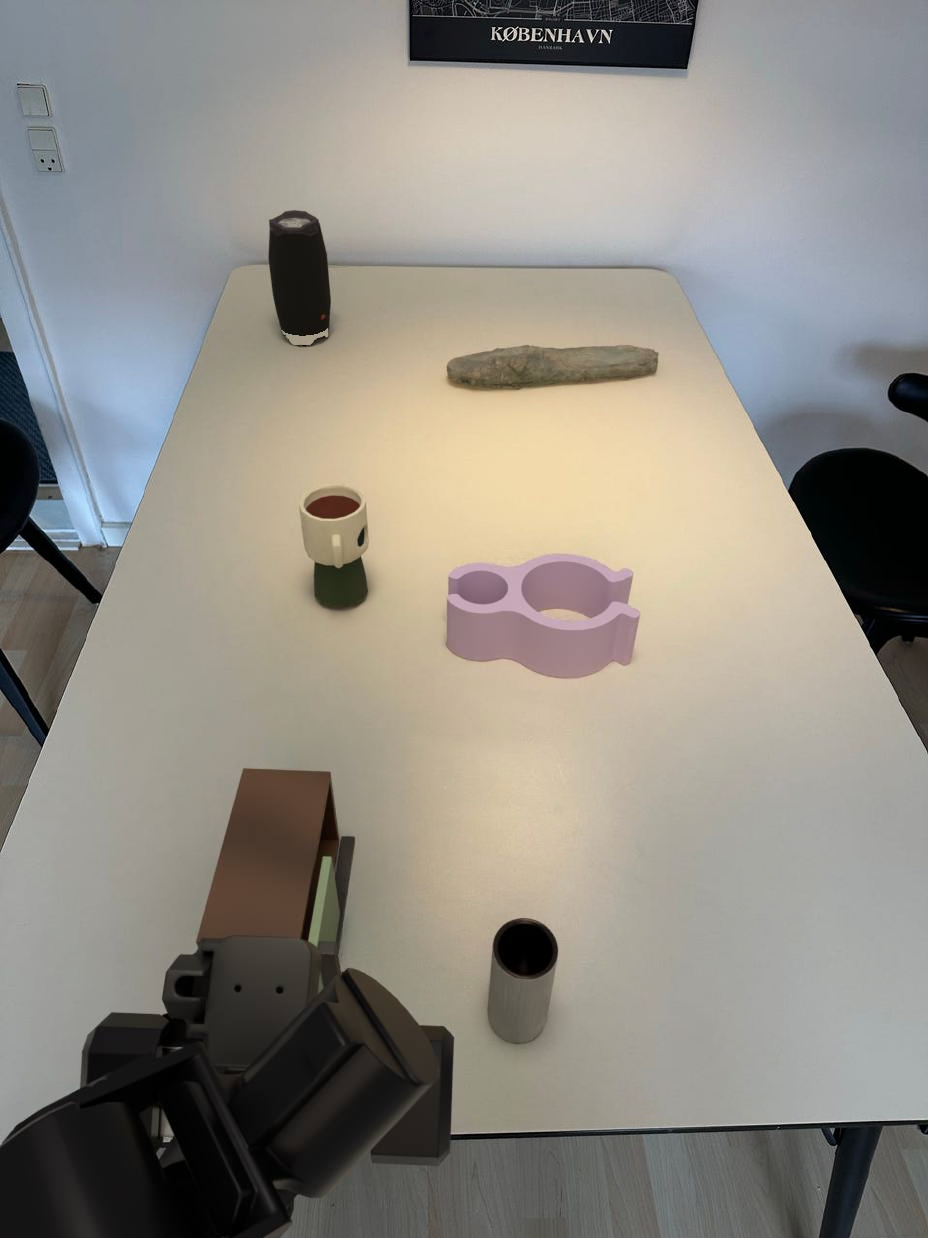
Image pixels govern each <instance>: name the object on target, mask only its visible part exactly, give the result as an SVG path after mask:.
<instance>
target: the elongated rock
mask: <svg viewBox="0 0 928 1238" xmlns="http://www.w3.org/2000/svg"><path fill="white" fill-rule="evenodd" d="M659 355H660V354H659V352H658V351H655V349H651V348H646V347H641V346H634V345H630V344H619V345H617V344H616V345H609V346H608V345H607V346H605V345H601V346H598V345H596V346H594V345H593V346H578V347H564V348H556V347H542V346H538V345H537V346H535V345H529V344H525V345H519V346H512V347H501V348H499V347H497V348H494V349H492V350H487V351H480V352H475V353H471V354H465V355H462V356H457V357H454V358H452V359H450V360H449V361H448V362H447V364H446V373H447V377H448V378H449V379H450V380H451V381H453V382H455V383H458V385H460V386H464V385H465V386H472V387H474V386H475V387H482V388H490V389H494V388H505V387H510V388H512V389H514V390H519V389H520V388H528V387H529V388H530V386H533V385H547V384H556V383H560V382H562V381H564V380H570V381H577V380H579V381H580V382H585V381H587V380H593V379H621V378H622V379H629V378H632V377H636V376H644V375H648V374H651V373H654V372H655V371H657V368H658V364H659Z"/></svg>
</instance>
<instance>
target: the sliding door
mask: <svg viewBox="0 0 928 1238" xmlns="http://www.w3.org/2000/svg"><path fill="white" fill-rule="evenodd" d="M339 917H340V910H339V903H338V896H337V889H336V882H335V869H334V868H333V862H332V857H325V856H323V858H322V864H321V870H320V876H319V881H318V887H317V893H316V899H315V904H314V910H313V916H312V922H311V927H310V933H309V939H308V942H311V943H313V944H314V945H315V946H316V947H317V948H318V949H319V952H320V954H321V971H320V976H319V987H318V994H319V993H320V992H321V990H322V989H323V988H324V987H325V986H326V985H327V984H328V983H329V982H330V981H331V980H332V979H333V978H334V977H335V976H336V975H337V974H338V973H341V972H342V971H341V964H340V958H339V954H338V950H337V944H336V937H337V931H338V924H339Z"/></svg>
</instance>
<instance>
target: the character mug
mask: <svg viewBox="0 0 928 1238" xmlns="http://www.w3.org/2000/svg"><path fill="white" fill-rule="evenodd" d="M298 509H299V516H300V525H301V531H302V532H301V533H302V539H303V547H304V550H305V552H306V555H307V557H308V558H309V559H310V560H312V561H313V562H314V566H313V593H314V597H315V598H316V600H318V602H320V603H322V604H325V605H328V606H333V607H335V606H336V607H348V606H355V605H357V604H359V603H360V602H362V601H363V600H365V598H366V597H367V595H368V593H369V588H368V580H367V575H366V570H365V566H364V561H363V558H362V556H363V555H364V554H365V553H366V552H367V550H368V548H369V542H370V541H369V540H370V539H369V525H368V524H369V522H368V512H367V511H368V510H367V499H366V497H365V495H364V494H363V492H362V491H361V490H360V489H358V488H356V487H355V486H351V485H348V484H344V483H326V484H322V485H321V484H320V485H316V486H315V487H313V488H311V489H309V490H307V491H306V492H305V493H304V494H302V495H301V497H300V501H299V503H298Z"/></svg>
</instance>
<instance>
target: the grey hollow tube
mask: <svg viewBox="0 0 928 1238" xmlns="http://www.w3.org/2000/svg"><path fill="white" fill-rule="evenodd" d="M491 949H492V950H491V960H490V972H489V986H488V999H487V1019H488V1022H489V1025H490V1027H491V1029H492V1031H493V1032H494V1034H496V1035H497V1036H498V1037H499V1038H501V1039H503V1040H504V1041H506V1042H509V1043H512V1044H525V1043H528V1042H531V1041H533V1040H534V1039H536V1038H537V1037H538V1036H539V1035H540V1034H541V1033H542V1031H543V1030H544V1028H545V1025H546V1022H547V1019H548V1013H549V1007H550V1002H551V997H552V991H553V986H554V981H555V975H556V970H557V969H556V968H557V963H558V958H559V944H558V940H557V938H556V936H555V934H554V933H553V932H552V930H551V929H550V928H549V927H548V926H546V925H545V924H544V923H542V922H541V921H539V920H537V919H533V918H528V917H520V918H514V919H511V920H509V921H507V922H505V923H504V924H503V925H501V927H500V928H498V929H497V931H496V932H495V935H494V937H493V941H492V946H491Z"/></svg>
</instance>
